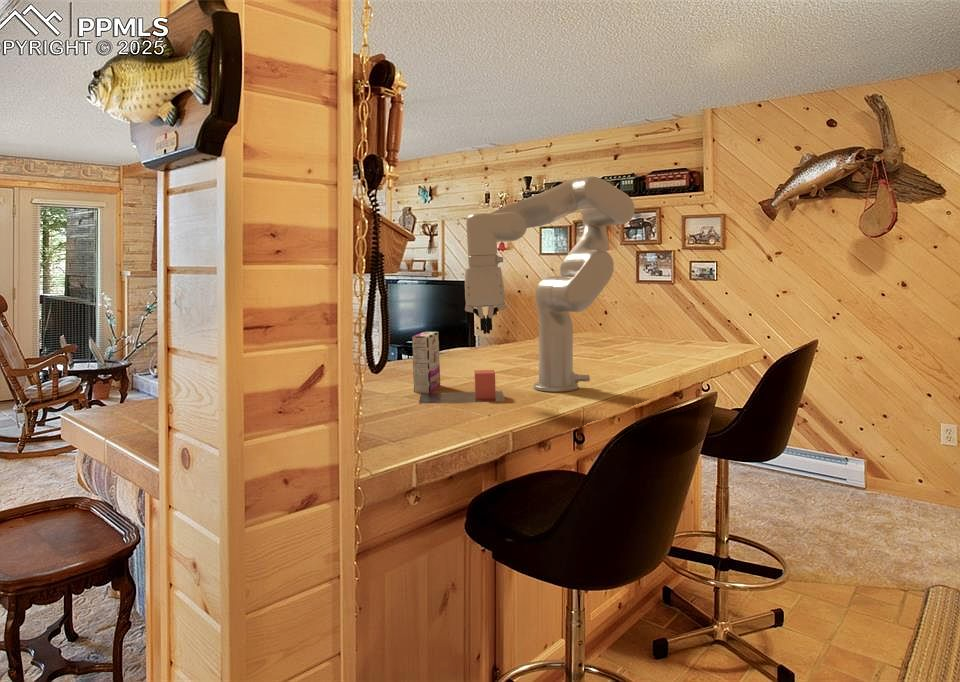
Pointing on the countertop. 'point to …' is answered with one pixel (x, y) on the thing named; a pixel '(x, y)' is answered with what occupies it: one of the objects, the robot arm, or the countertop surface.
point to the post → (457, 397)
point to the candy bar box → (426, 361)
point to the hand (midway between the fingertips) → (486, 333)
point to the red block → (484, 384)
